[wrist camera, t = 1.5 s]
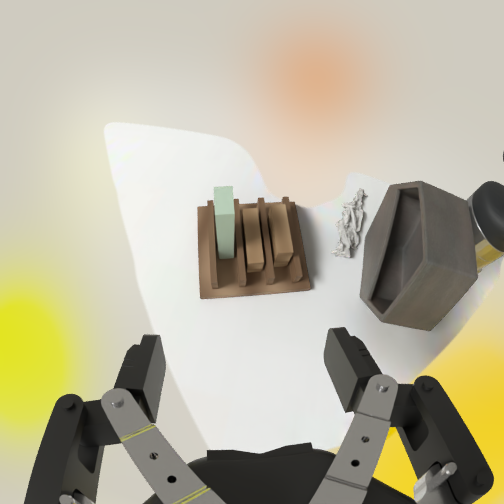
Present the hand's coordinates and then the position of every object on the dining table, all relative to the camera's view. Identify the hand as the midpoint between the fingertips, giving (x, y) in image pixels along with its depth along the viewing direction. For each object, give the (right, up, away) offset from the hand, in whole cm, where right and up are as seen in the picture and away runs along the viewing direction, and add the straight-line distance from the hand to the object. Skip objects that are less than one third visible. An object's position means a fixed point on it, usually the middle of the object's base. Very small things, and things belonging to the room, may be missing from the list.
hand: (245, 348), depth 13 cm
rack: (0, +5, +29) cm, 30 cm away
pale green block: (-3, +5, +28) cm, 29 cm away
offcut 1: (0, +5, +28) cm, 29 cm away
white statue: (+16, +9, +33) cm, 38 cm away
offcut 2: (+4, +6, +29) cm, 29 cm away
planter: (+21, +1, +29) cm, 36 cm away
